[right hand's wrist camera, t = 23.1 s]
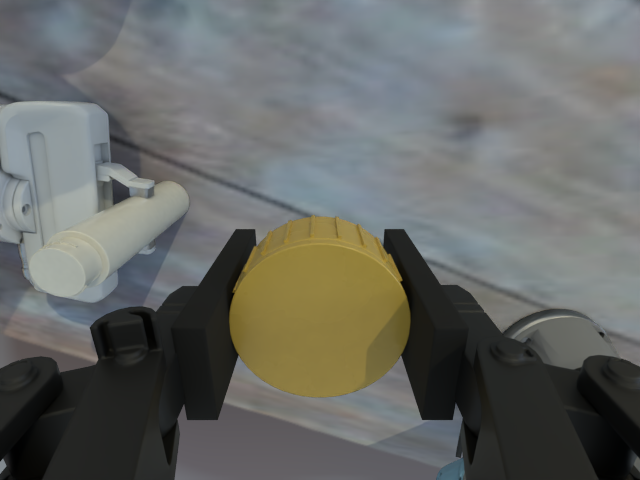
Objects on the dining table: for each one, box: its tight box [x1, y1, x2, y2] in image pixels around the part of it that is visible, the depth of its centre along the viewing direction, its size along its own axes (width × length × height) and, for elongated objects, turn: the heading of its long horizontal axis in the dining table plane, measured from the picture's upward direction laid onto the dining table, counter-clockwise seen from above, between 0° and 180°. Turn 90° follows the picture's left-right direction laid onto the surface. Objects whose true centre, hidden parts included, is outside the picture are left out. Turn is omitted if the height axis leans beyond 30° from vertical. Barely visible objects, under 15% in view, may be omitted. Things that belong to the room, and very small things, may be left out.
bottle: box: [29, 181, 190, 297], centre depth 33 cm, size 5×5×19 cm
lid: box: [229, 215, 411, 397], centre depth 11 cm, size 5×5×2 cm
